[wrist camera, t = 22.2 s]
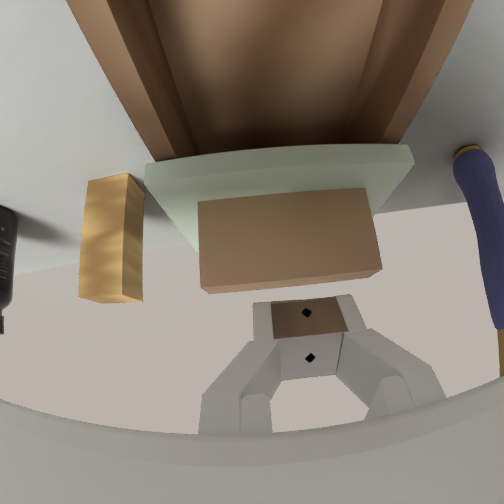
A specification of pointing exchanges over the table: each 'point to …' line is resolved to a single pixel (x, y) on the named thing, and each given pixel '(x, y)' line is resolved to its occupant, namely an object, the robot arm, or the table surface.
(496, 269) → the rubber mallet
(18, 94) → the table surface
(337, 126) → the wooden box base
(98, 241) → the light wooden block
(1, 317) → the supplement bottle
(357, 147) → the lid
